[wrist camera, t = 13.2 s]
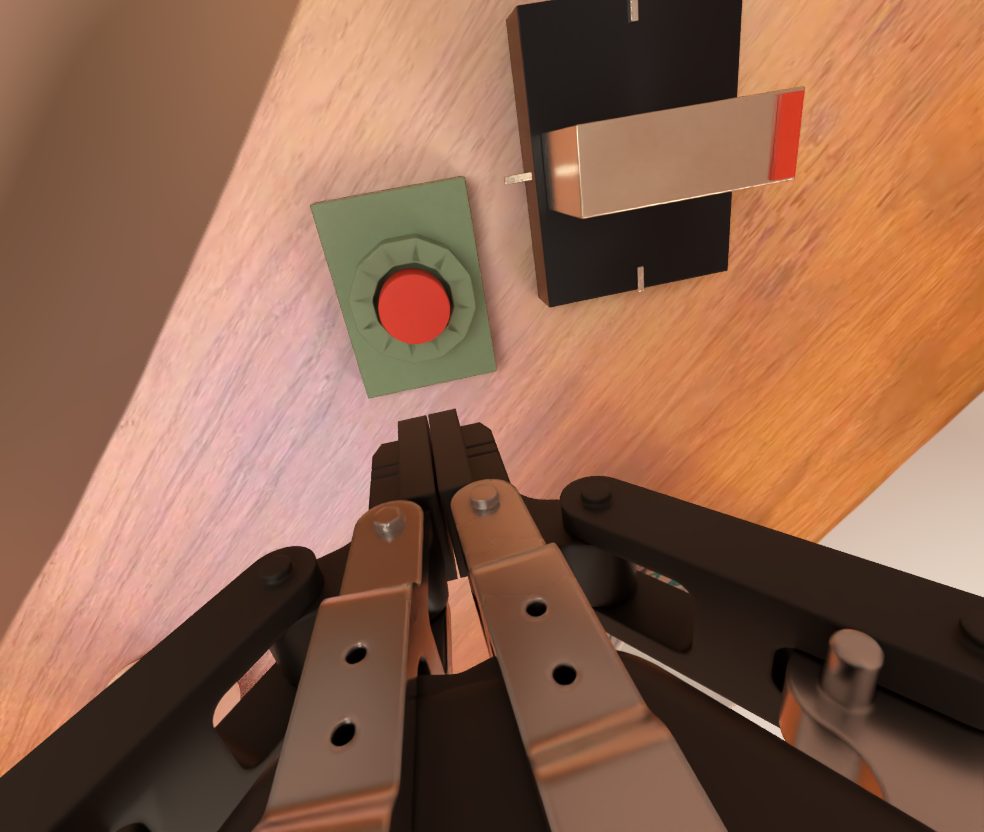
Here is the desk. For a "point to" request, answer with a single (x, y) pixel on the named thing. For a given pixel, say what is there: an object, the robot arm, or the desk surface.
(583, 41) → the black flat square plate
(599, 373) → the desk surface
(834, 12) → the desk surface
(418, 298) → the button
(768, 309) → the desk surface
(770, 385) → the desk surface
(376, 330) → the green rectangular block
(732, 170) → the silver metal block
